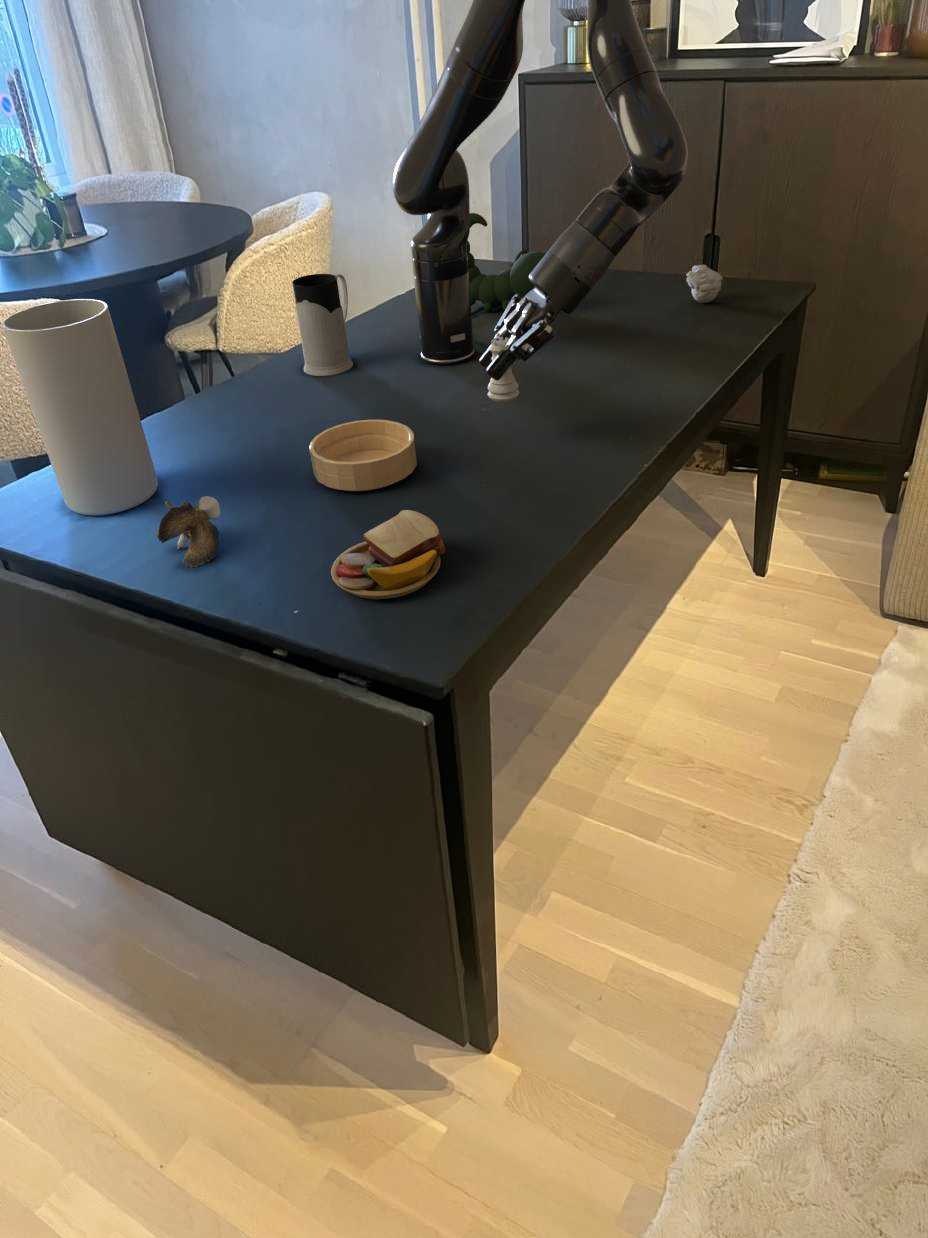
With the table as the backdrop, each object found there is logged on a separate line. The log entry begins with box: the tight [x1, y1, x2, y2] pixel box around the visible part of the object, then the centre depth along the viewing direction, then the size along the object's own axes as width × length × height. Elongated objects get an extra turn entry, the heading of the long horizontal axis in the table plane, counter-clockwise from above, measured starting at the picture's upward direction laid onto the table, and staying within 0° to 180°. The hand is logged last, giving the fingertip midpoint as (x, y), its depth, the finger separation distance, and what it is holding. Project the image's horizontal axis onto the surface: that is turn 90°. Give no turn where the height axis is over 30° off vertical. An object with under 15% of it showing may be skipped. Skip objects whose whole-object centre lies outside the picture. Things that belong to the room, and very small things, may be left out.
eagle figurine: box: [156, 495, 221, 568], centre depth 115 cm, size 8×7×9 cm
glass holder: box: [291, 273, 354, 377], centre depth 164 cm, size 9×14×15 cm, turn 158°
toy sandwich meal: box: [330, 509, 446, 600], centre depth 107 cm, size 12×14×5 cm
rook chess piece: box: [487, 337, 520, 403], centre depth 129 cm, size 4×4×8 cm
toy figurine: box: [467, 212, 546, 313], centre depth 180 cm, size 9×19×25 cm
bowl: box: [309, 419, 418, 492], centre depth 129 cm, size 14×14×4 cm
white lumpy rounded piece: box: [685, 264, 723, 304], centre depth 178 cm, size 6×7×7 cm
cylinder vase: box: [1, 298, 159, 516], centre depth 123 cm, size 12×12×25 cm
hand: (487, 370), depth 129 cm, fingers closed on rook chess piece, 3 cm apart
